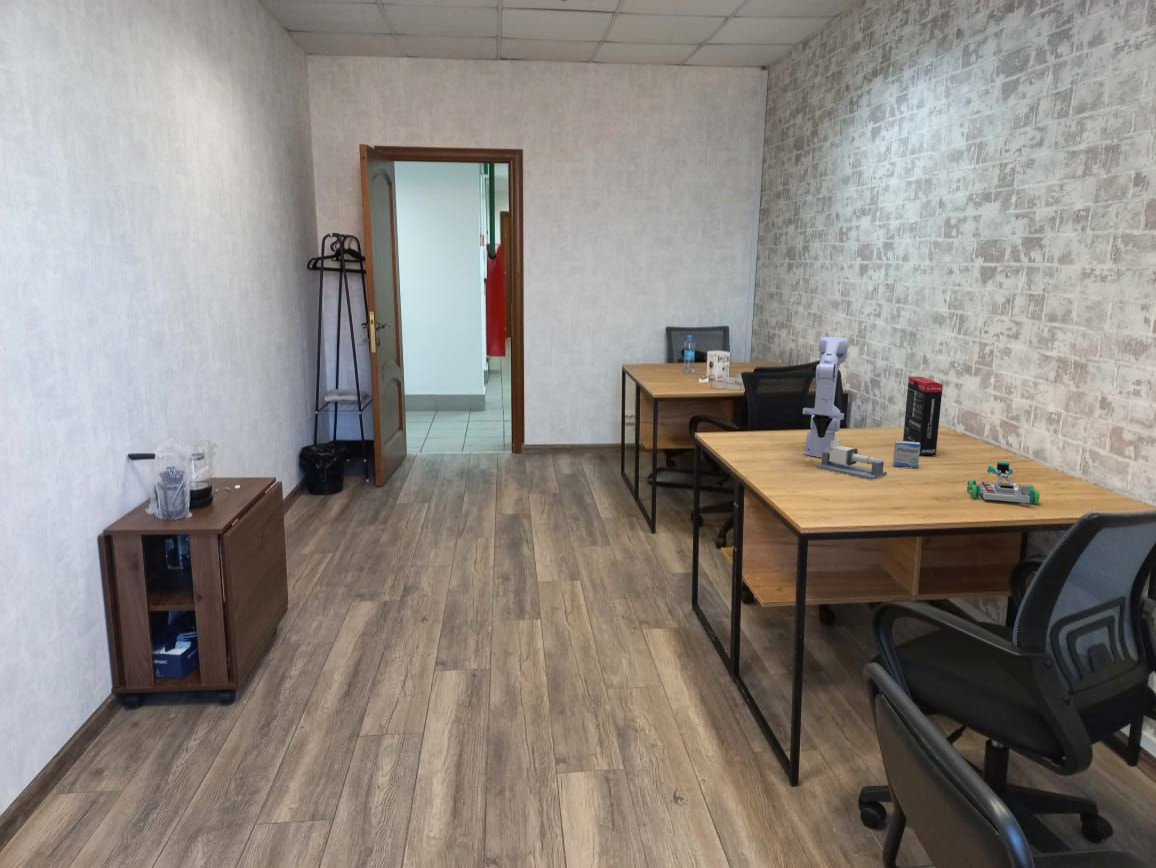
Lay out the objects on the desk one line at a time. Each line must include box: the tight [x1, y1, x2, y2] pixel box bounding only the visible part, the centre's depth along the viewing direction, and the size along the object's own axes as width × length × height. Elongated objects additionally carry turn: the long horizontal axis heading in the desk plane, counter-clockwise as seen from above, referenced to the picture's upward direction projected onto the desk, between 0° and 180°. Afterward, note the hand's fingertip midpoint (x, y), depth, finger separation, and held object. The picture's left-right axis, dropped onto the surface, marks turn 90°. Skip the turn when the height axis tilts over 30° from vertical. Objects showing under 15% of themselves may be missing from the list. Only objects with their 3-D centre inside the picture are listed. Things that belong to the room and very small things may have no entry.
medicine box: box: [892, 440, 921, 469], centre depth 274 cm, size 8×4×9 cm, turn 73°
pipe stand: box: [816, 448, 888, 481], centre depth 266 cm, size 20×10×6 cm, turn 43°
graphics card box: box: [902, 376, 944, 455], centre depth 294 cm, size 17×7×27 cm, turn 179°
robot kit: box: [966, 461, 1040, 505], centre depth 242 cm, size 19×25×9 cm
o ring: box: [847, 448, 858, 466], centre depth 266 cm, size 1×5×5 cm, turn 133°
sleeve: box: [829, 438, 855, 465], centre depth 268 cm, size 6×5×7 cm
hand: (821, 437), depth 273 cm, fingers closed
